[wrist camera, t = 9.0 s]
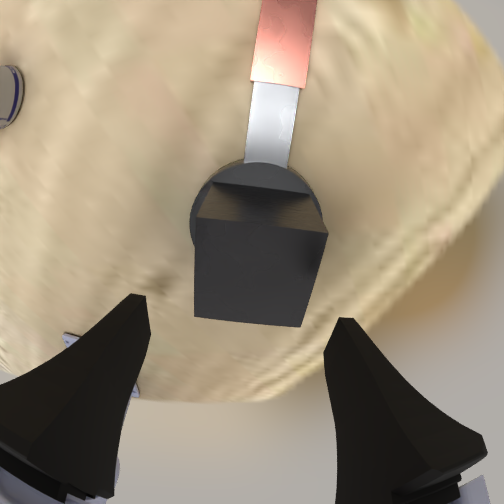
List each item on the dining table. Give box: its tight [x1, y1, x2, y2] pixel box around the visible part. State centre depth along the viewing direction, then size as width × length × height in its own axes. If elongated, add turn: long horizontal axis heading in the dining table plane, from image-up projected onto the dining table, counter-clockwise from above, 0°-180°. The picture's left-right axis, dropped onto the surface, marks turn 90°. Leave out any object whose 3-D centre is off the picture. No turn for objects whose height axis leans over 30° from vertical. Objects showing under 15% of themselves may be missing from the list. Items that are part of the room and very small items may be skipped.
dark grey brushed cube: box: [194, 182, 328, 327], centre depth 15 cm, size 5×5×5 cm
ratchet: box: [190, 0, 322, 246], centre depth 13 cm, size 20×8×4 cm, turn 173°
